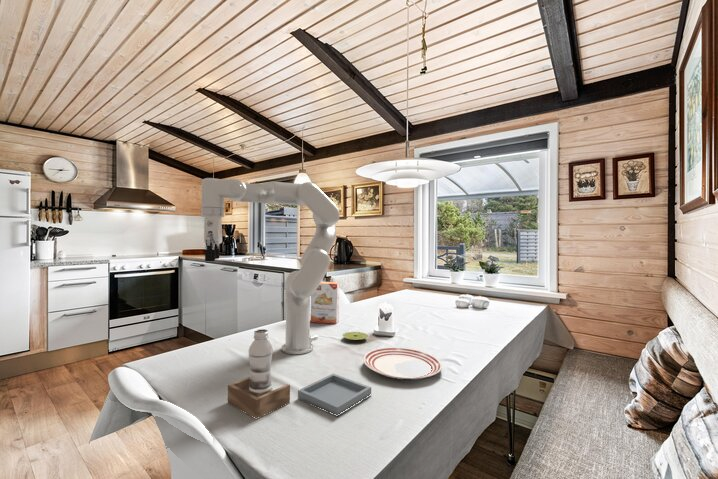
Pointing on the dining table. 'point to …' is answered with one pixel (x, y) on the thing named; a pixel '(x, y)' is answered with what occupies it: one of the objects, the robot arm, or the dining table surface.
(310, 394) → the grey square tray
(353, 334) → the mat
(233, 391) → the walnut bay
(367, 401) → the dining table surface
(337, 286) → the cracker box
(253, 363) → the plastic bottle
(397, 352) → the dinner plate
